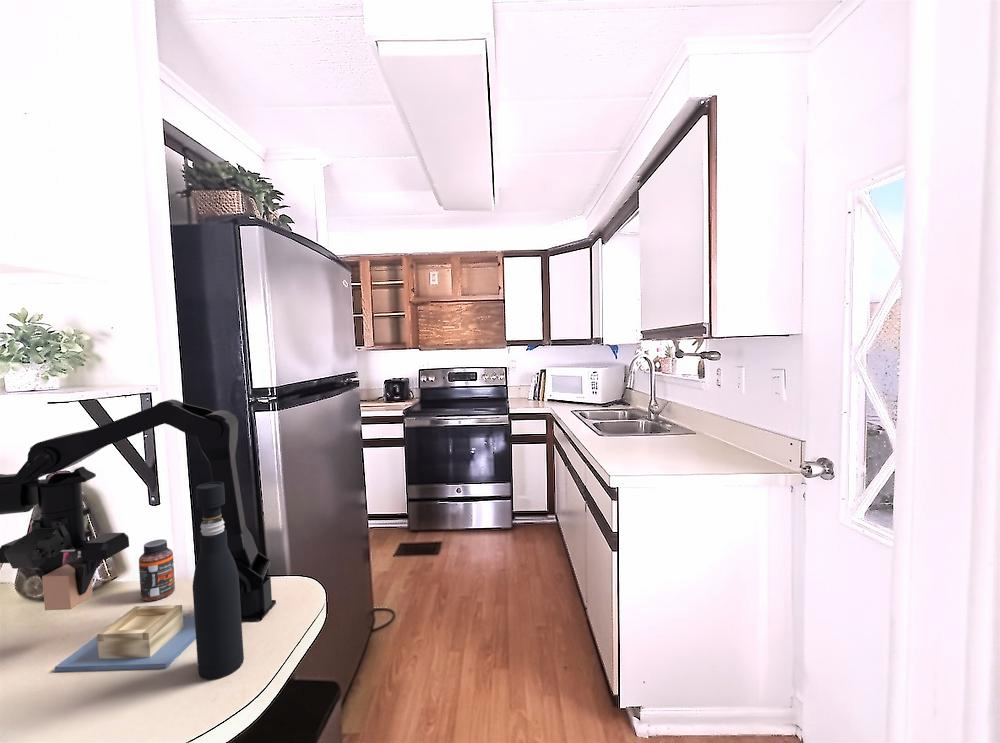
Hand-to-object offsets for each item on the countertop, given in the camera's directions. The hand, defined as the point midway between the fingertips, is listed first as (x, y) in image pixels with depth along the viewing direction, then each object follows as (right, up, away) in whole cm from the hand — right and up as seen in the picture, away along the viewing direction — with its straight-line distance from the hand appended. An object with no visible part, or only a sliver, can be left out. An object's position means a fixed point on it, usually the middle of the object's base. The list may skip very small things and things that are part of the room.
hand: (68, 594), depth 86 cm
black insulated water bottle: (+31, -9, -7) cm, 33 cm away
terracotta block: (0, -2, 0) cm, 2 cm away
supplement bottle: (+4, -8, +17) cm, 19 cm away
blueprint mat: (+13, -9, 0) cm, 16 cm away
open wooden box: (+14, -9, -1) cm, 17 cm away
